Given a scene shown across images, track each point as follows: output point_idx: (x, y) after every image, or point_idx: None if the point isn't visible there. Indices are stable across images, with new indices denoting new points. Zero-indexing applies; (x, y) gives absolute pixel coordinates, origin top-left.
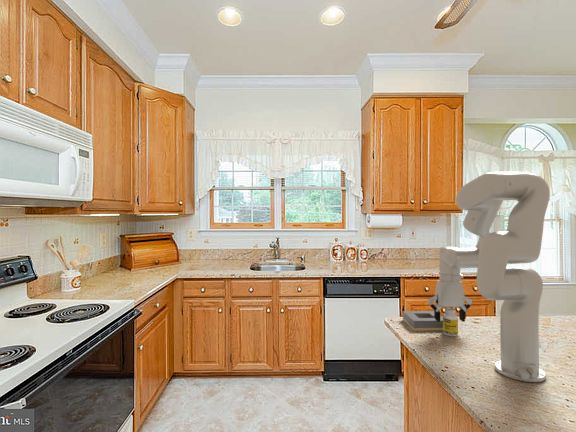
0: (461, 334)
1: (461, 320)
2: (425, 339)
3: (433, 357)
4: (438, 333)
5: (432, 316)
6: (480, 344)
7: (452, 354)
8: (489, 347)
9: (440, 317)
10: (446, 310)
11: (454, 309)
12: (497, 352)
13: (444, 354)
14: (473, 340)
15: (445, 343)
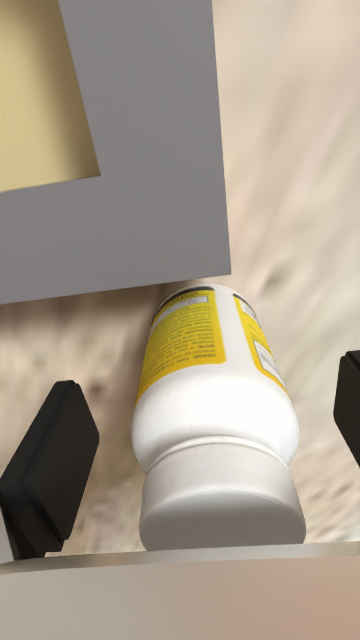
0: (285, 327)
1: (336, 392)
2: (25, 424)
3: (55, 556)
4: (118, 324)
5: (65, 14)
6: (308, 458)
7: (129, 538)
8: (330, 483)
9: (170, 134)
10: (152, 550)
11: (296, 531)
12: (327, 518)
13: (98, 540)
14: (305, 416)
15: (127, 460)
